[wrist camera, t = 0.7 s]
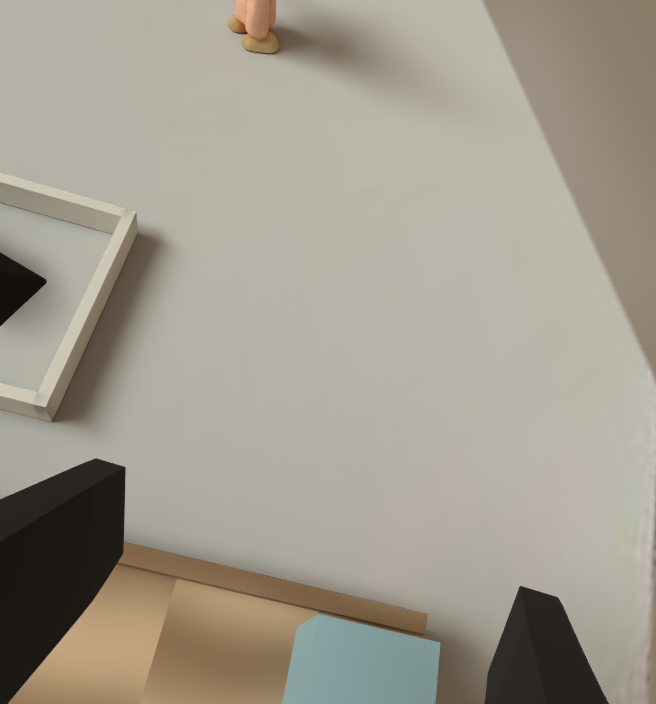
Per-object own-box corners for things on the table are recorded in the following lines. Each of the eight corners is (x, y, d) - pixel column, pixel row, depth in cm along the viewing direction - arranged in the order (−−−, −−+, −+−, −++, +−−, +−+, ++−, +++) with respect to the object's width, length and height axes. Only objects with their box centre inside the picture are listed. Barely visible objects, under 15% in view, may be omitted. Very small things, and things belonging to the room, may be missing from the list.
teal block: (386, 779, 24) (427, 794, 20) (272, 754, 23) (291, 765, 20) (401, 650, 26) (440, 642, 22) (297, 626, 26) (318, 613, 22)
